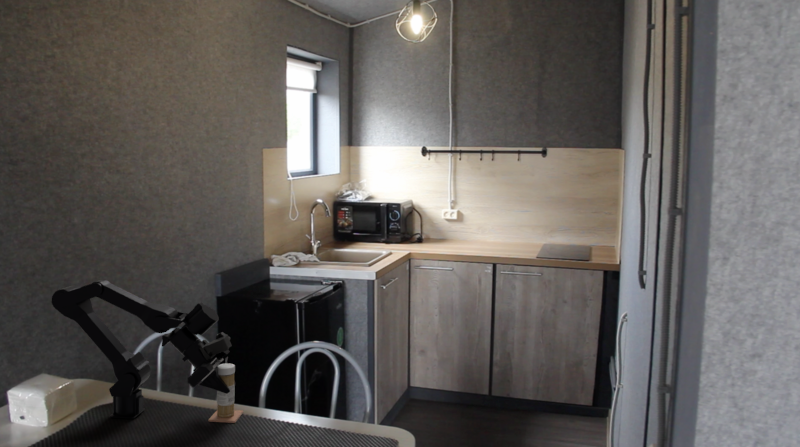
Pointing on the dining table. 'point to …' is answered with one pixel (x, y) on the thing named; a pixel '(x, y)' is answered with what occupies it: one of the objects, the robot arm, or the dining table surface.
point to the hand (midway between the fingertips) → (231, 388)
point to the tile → (229, 419)
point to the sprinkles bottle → (225, 400)
